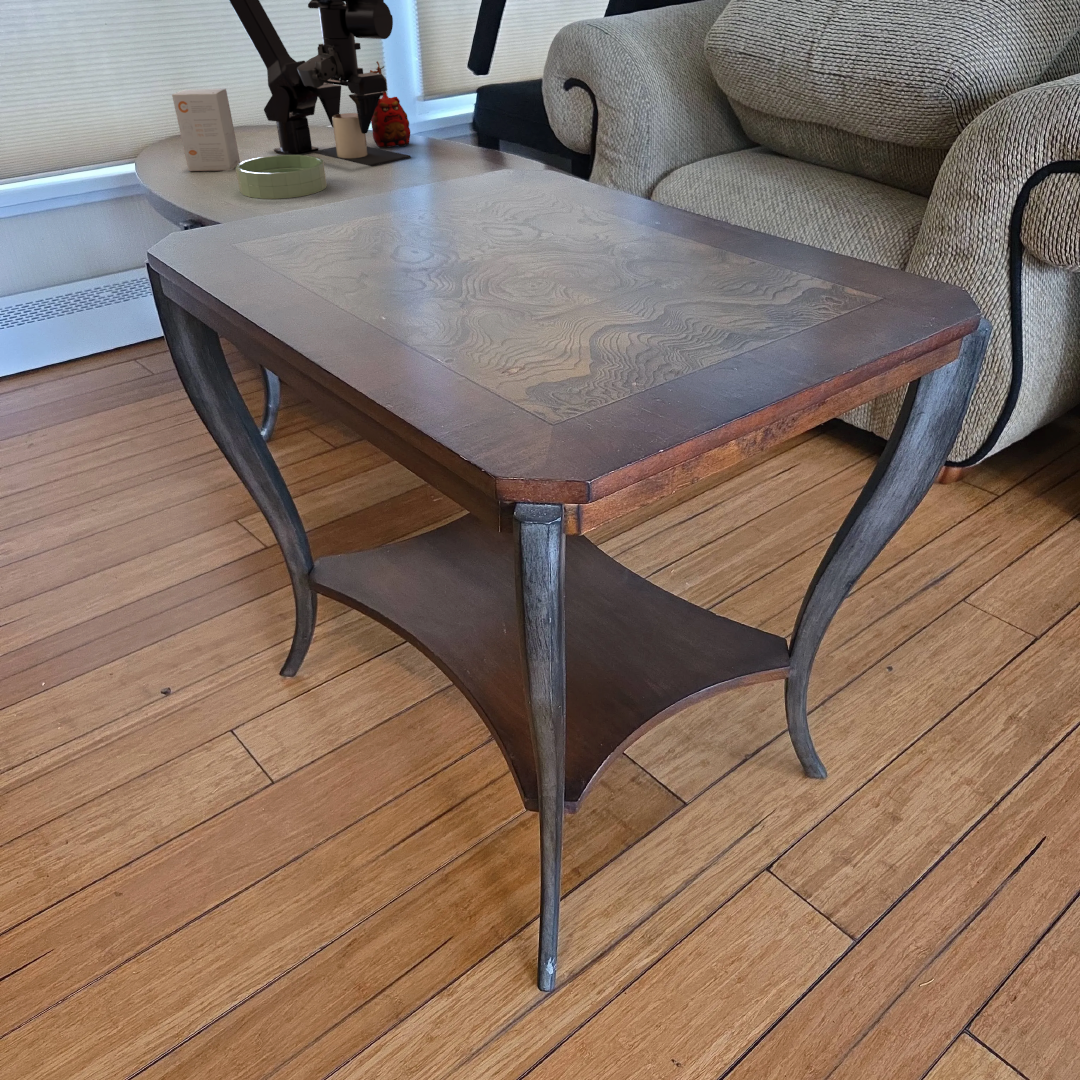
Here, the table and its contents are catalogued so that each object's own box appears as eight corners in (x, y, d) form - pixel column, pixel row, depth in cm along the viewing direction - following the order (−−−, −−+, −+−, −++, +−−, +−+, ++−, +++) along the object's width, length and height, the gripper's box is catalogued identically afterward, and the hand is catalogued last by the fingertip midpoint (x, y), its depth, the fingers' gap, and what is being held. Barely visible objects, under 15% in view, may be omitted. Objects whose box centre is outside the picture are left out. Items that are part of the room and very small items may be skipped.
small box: (241, 163, 177) (227, 87, 170) (231, 171, 172) (216, 93, 165) (198, 164, 177) (182, 88, 170) (187, 171, 172) (171, 94, 165)
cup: (330, 155, 180) (325, 115, 176) (355, 150, 183) (350, 111, 179) (349, 159, 176) (344, 119, 173) (373, 154, 180) (369, 115, 176)
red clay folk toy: (380, 150, 185) (372, 66, 176) (367, 144, 190) (358, 62, 182) (416, 146, 188) (409, 62, 180) (402, 140, 193) (395, 59, 185)
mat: (295, 157, 181) (294, 154, 181) (353, 145, 189) (353, 143, 189) (351, 170, 171) (351, 168, 170) (410, 157, 179) (410, 155, 179)
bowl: (224, 193, 158) (219, 165, 156) (295, 178, 167) (291, 151, 164) (271, 207, 150) (266, 178, 147) (343, 190, 158) (340, 162, 156)
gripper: (271, 38, 169) (285, 130, 178) (332, 45, 158) (344, 143, 167) (322, 32, 176) (333, 122, 185) (384, 39, 165) (393, 134, 174)
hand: (349, 130), depth 177 cm, fingers open, 9 cm apart
